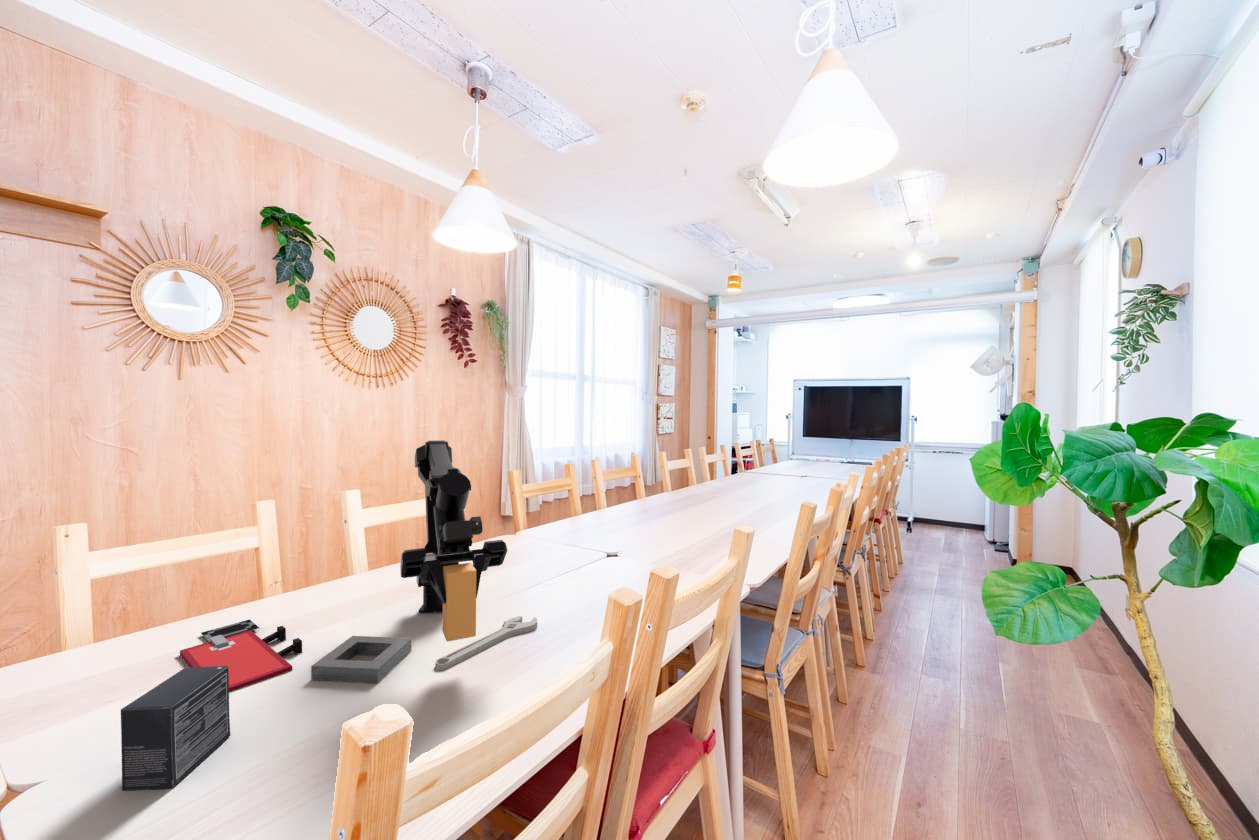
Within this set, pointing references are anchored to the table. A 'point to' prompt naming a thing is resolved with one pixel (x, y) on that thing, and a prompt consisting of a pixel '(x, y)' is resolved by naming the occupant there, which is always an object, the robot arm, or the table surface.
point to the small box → (174, 728)
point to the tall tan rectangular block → (459, 602)
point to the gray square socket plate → (347, 670)
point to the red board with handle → (242, 653)
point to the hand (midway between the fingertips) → (460, 600)
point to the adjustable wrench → (486, 641)
